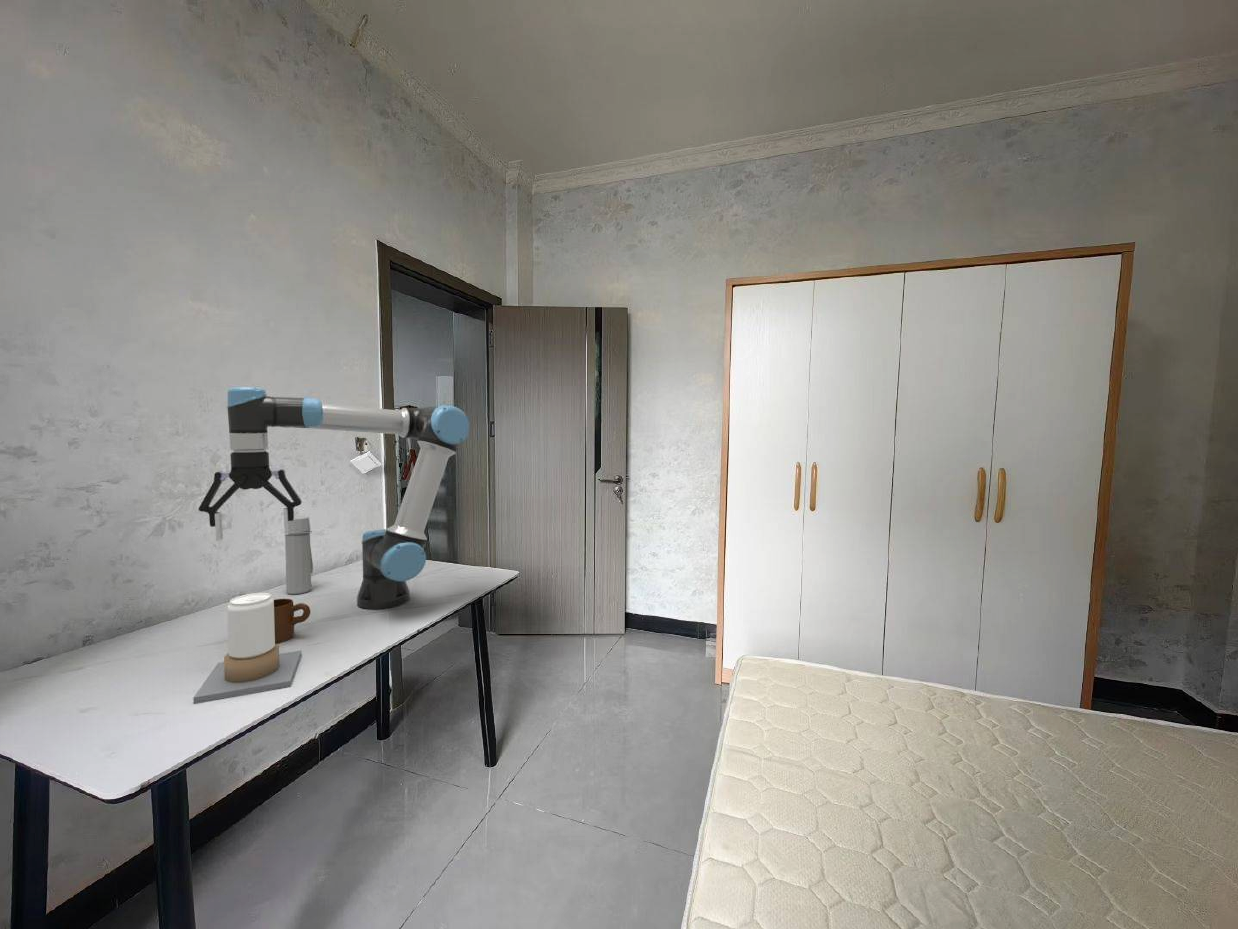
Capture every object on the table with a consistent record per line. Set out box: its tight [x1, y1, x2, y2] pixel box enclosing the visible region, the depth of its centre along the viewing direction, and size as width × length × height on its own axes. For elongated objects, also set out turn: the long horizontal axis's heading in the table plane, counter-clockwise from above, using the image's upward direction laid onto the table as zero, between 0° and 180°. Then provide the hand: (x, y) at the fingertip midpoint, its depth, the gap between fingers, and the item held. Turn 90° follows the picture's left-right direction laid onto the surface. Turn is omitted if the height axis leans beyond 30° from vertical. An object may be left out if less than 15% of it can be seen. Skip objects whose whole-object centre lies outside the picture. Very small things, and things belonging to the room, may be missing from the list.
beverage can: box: [226, 592, 276, 658], centre depth 107 cm, size 8×8×12 cm
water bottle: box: [283, 515, 314, 595], centre depth 165 cm, size 9×8×25 cm
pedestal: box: [193, 643, 302, 704], centre depth 107 cm, size 16×16×6 cm
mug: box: [273, 598, 312, 644], centre depth 127 cm, size 12×8×9 cm, turn 97°
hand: (254, 536), depth 122 cm, fingers open, 13 cm apart
